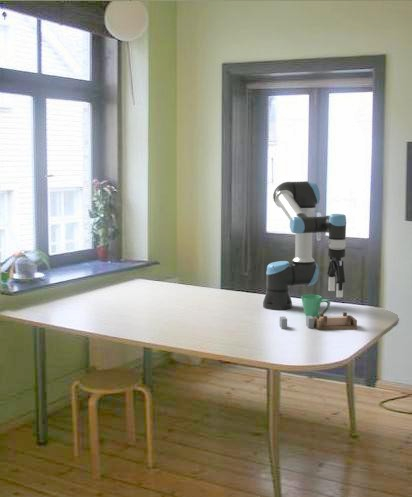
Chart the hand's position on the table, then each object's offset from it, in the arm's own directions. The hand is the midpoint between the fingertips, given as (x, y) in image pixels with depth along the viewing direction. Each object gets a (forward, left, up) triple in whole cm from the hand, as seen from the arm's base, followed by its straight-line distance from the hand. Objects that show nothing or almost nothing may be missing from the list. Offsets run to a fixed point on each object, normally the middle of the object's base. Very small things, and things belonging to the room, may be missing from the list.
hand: (335, 294), depth 330 cm
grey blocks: (-2, -17, -16) cm, 23 cm away
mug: (-20, -4, -16) cm, 26 cm away
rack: (0, 0, -16) cm, 16 cm away
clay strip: (0, 0, -14) cm, 14 cm away
